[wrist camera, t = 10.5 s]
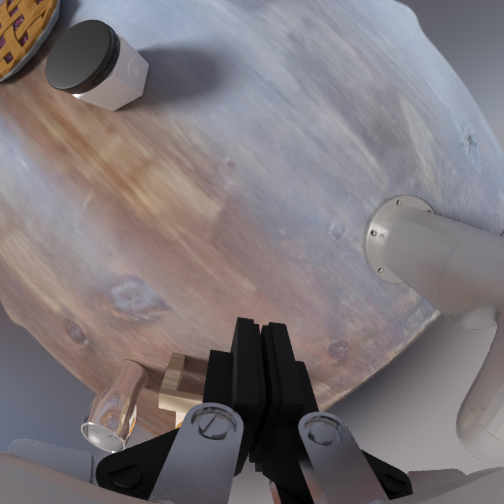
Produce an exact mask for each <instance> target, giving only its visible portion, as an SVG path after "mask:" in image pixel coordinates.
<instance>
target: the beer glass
mask: <svg viewBox="0 0 504 504" xmlns="http://www.w3.org/2000/svg"><path fill="white" fill-rule="evenodd" d="M148 382H149V375H148V373H147V371H146V370H145V368H144V367H143V366H141V365H140V364H138V363H137V362H134V361H131V360H122V361H120V362H118V363H117V364H116V367H115V370H114V374H113V377H112V379H111V380H110V381H109V383H108V384H107V385H106V386H105V387H104V388H103V389H102V390H101V391H100V392H99V394H98V395H97V396H96V397H95V399H94V400H93V402H92V404H91V405H90V407H89V409H88V411H87V414H86V416H85V419H84V421H83V423H82V425H81V432H82V434H83V435H84V436H85V437H86V439H87V440H88V441H89V442H91V443H92V444H93V445H95V446H96V447H98V448H100V449H102V450H105V451H108V452H112V453H116V452H119V451H122V450H125V448H126V445H127V443H128V441H129V439H130V437H131V435H132V433H133V430H134V427H135V424H136V420H137V415H138V408H139V400H140V395H141V393H142V391H143V389H144V388H145V387H146V385H147V384H148Z"/></svg>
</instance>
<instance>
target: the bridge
mask: <svg viewBox="0 0 504 504" xmlns="http://www.w3.org/2000/svg"><path fill="white" fill-rule="evenodd" d="M184 364H185V355H180V354H175V353H172V356H171V359H170V362H169V364H168V367H167V370H166V373H165V376H164V379H163V382H162V385H161V388H160V391H159V408H162V409H167V410H171V411H176V412H181V413H186V414H187V412H188V411H189V409H191V408H192V407H194V406H195V405H198V404H202V401H203V395H198V394H192V393H187V392H182V391H179V387H180V383H181V379H182V376H183V372H184Z"/></svg>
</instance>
